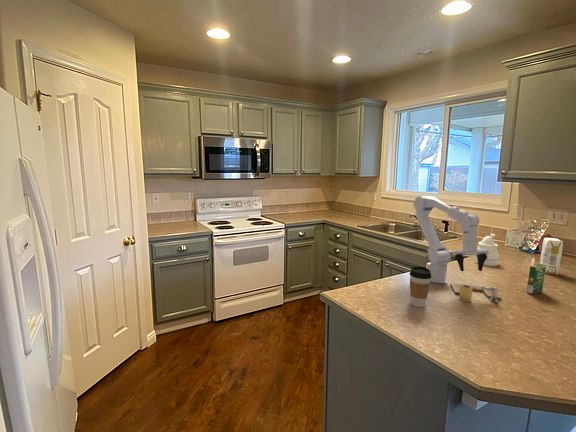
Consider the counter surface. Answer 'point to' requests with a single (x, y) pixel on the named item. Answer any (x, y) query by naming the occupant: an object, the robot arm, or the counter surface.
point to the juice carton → (551, 255)
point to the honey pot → (491, 247)
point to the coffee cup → (419, 285)
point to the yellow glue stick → (465, 293)
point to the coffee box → (536, 279)
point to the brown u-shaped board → (475, 288)
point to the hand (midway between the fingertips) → (471, 270)
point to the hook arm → (494, 292)
